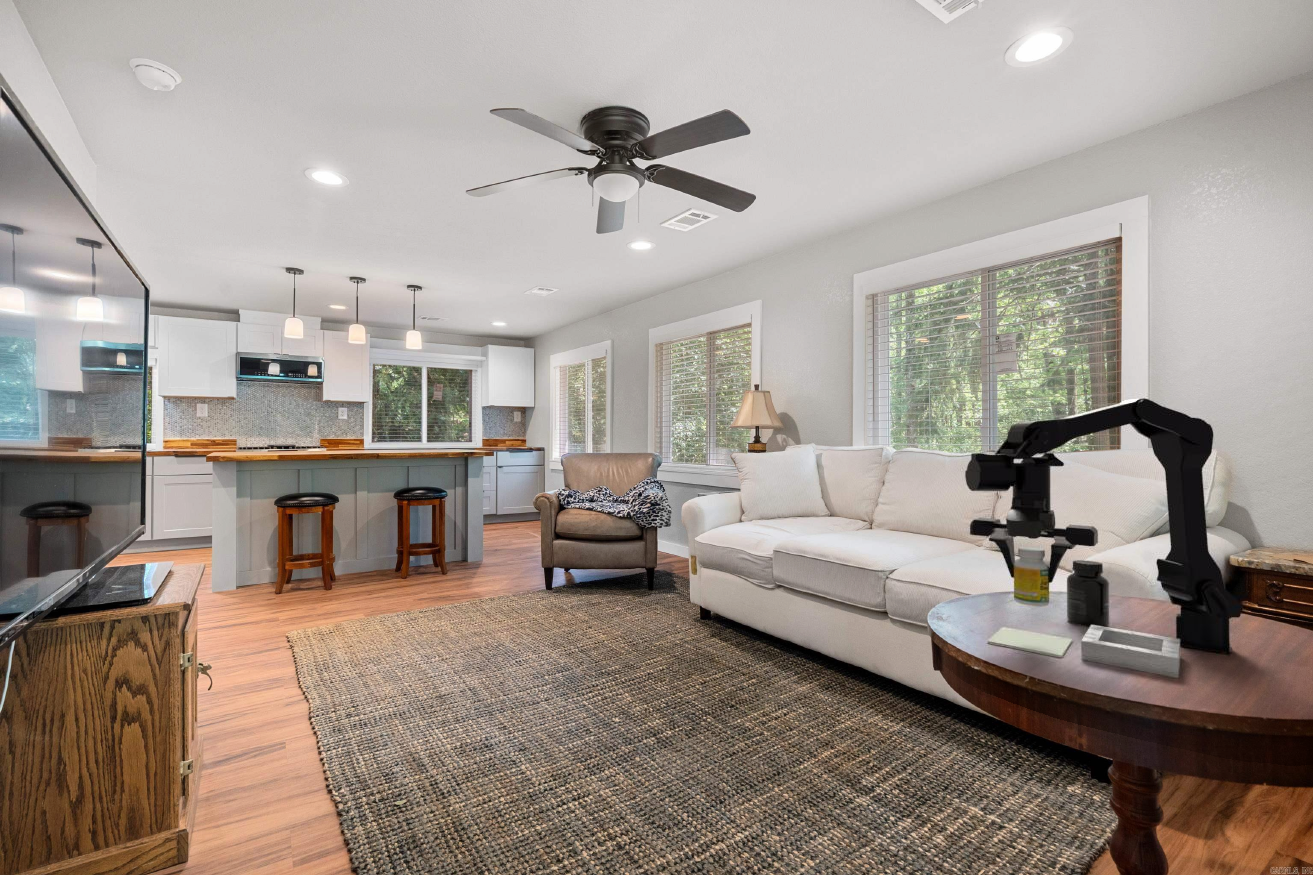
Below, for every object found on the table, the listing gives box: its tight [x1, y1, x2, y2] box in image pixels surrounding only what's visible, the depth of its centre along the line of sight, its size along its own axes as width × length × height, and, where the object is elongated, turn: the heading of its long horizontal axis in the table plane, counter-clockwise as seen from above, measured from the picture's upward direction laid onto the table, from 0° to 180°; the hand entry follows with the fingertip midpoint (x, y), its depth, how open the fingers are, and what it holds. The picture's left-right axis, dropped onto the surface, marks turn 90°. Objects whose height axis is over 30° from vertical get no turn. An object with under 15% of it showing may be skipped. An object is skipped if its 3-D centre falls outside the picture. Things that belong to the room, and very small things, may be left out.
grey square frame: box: [1080, 625, 1181, 679], centre depth 99 cm, size 12×12×3 cm
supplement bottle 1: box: [1013, 546, 1050, 607], centre depth 107 cm, size 5×5×10 cm
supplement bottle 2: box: [1066, 559, 1110, 628], centre depth 119 cm, size 7×7×12 cm
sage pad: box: [987, 626, 1073, 659], centre depth 107 cm, size 11×11×1 cm
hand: (1031, 579), depth 107 cm, fingers closed on supplement bottle 1, 5 cm apart
